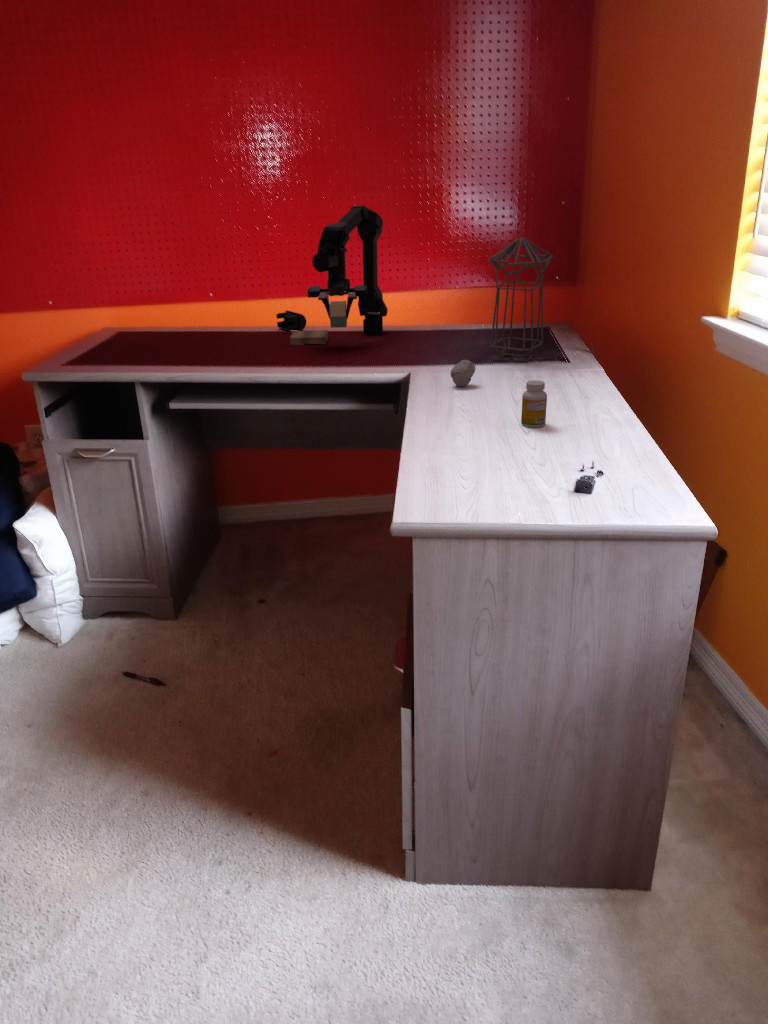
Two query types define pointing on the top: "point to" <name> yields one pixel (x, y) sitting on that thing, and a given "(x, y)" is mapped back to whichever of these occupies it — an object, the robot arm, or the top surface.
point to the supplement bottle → (534, 405)
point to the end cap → (291, 321)
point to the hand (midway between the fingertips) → (338, 318)
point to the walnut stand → (308, 337)
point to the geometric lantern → (510, 249)
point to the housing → (338, 314)
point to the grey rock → (462, 373)
